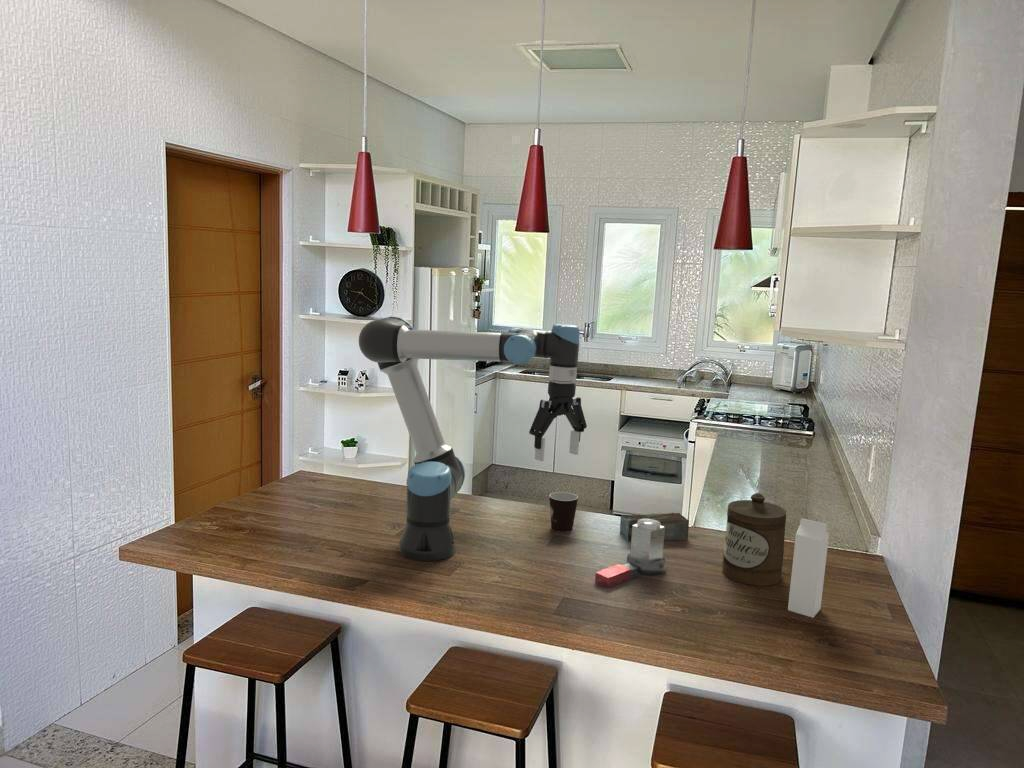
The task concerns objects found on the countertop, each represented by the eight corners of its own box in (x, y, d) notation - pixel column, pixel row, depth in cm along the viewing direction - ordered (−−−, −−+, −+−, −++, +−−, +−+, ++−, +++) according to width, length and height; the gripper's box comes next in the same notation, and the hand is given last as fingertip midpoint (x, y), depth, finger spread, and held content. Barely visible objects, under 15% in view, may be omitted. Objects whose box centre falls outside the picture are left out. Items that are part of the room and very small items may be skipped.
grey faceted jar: (648, 564, 197) (651, 528, 195) (630, 557, 201) (632, 521, 199) (662, 559, 201) (665, 523, 199) (644, 552, 205) (646, 517, 204)
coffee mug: (574, 534, 223) (576, 502, 222) (545, 531, 225) (547, 499, 223) (579, 521, 235) (580, 490, 233) (551, 518, 236) (553, 487, 235)
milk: (795, 602, 184) (804, 514, 181) (821, 609, 181) (830, 520, 177) (787, 610, 179) (796, 521, 176) (813, 618, 176) (823, 527, 172)
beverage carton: (618, 533, 227) (619, 512, 226) (678, 531, 231) (680, 510, 230) (627, 543, 219) (628, 521, 218) (689, 541, 223) (691, 519, 222)
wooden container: (710, 570, 201) (717, 490, 198) (744, 559, 210) (751, 482, 207) (758, 591, 190) (766, 506, 186) (792, 578, 199) (801, 497, 195)
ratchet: (616, 591, 186) (618, 566, 185) (586, 578, 193) (587, 554, 192) (672, 568, 201) (674, 545, 200) (642, 557, 208) (643, 534, 207)
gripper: (539, 386, 196) (533, 466, 199) (602, 380, 213) (596, 454, 216) (519, 381, 201) (514, 459, 205) (583, 376, 218) (577, 448, 222)
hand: (556, 456), depth 211 cm, fingers open, 13 cm apart
